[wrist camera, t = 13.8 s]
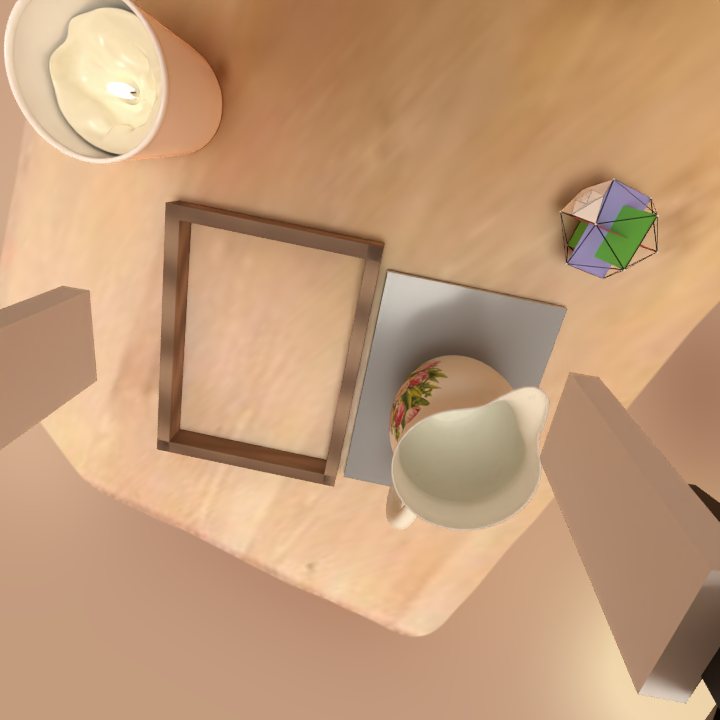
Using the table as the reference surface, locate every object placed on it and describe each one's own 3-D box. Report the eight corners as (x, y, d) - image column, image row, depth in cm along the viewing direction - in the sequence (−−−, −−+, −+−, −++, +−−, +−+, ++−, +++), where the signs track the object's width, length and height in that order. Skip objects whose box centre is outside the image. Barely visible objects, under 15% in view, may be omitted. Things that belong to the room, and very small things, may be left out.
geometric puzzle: (688, 213, 38) (676, 193, 31) (637, 294, 40) (617, 289, 34) (600, 183, 41) (574, 159, 35) (559, 258, 44) (528, 249, 38)
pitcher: (346, 438, 49) (326, 533, 36) (450, 291, 43) (470, 344, 30) (436, 490, 50) (447, 599, 38) (551, 355, 44) (610, 432, 31)
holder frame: (178, 200, 42) (165, 202, 40) (384, 243, 42) (383, 247, 40) (168, 436, 52) (157, 449, 49) (337, 472, 52) (334, 486, 49)
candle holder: (94, 109, 40) (-23, 88, 29) (152, -2, 37) (45, -75, 26) (192, 189, 42) (116, 197, 31) (256, 89, 39) (197, 58, 28)
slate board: (388, 269, 43) (387, 271, 42) (564, 306, 43) (567, 308, 42) (344, 472, 51) (343, 476, 51) (492, 503, 51) (493, 508, 51)
